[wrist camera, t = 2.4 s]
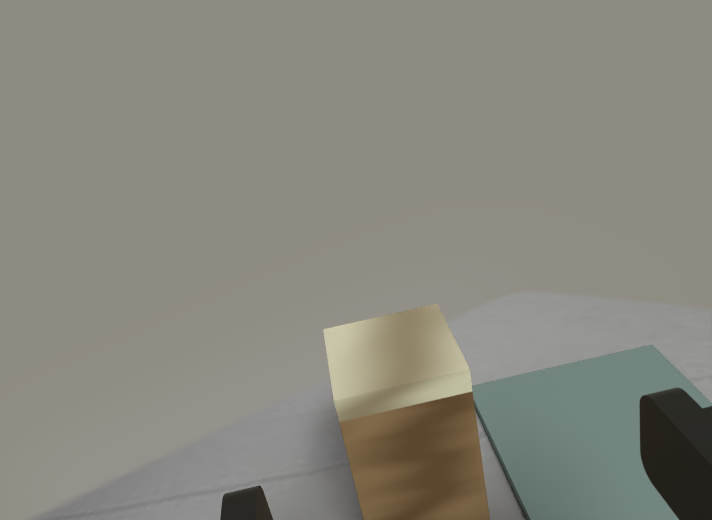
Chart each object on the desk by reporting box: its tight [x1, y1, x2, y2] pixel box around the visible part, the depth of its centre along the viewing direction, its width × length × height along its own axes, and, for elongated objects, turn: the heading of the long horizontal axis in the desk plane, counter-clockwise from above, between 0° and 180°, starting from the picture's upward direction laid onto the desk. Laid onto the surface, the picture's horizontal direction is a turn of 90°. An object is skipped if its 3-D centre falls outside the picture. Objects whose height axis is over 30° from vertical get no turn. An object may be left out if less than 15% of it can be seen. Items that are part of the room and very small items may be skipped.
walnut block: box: [324, 304, 490, 520], centre depth 28 cm, size 5×5×12 cm
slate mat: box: [472, 345, 712, 520], centre depth 32 cm, size 12×18×1 cm, turn 7°
